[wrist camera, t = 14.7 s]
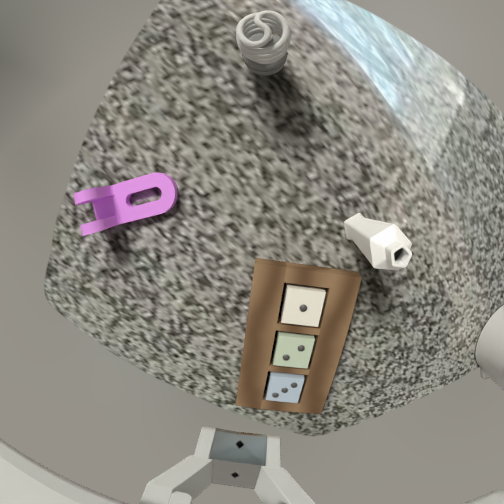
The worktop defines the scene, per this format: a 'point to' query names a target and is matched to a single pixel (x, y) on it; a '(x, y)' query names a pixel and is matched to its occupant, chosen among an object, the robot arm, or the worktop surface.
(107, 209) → the bracket
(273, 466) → the robot arm
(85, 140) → the worktop surface
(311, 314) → the tile
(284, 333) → the tile
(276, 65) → the light bulb
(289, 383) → the tile
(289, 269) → the dice board
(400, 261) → the white faceted bottle
